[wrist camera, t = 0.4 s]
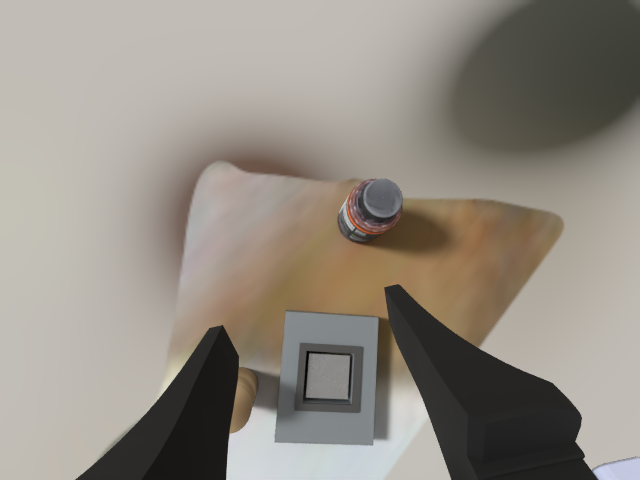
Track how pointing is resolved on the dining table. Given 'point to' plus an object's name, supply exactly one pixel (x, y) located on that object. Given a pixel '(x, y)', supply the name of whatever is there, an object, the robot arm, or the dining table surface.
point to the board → (322, 413)
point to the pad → (328, 376)
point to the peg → (243, 398)
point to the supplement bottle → (370, 210)
